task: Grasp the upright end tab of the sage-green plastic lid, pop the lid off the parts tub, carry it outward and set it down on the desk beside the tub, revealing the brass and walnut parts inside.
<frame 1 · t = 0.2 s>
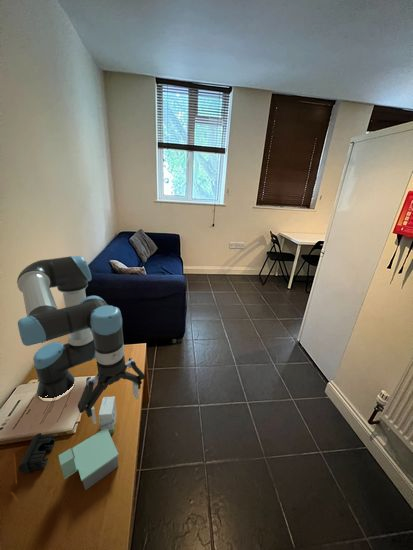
hand: (116, 407, 73), 28 cm above the table, fingers open, 13 cm apart
brass part: (89, 461, 81), point 1 cm above the table, touching tub
walnut part: (105, 465, 81), point 1 cm above the table, touching tub
tub: (97, 464, 81), on the table
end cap: (39, 458, 82), on the table
ink box: (109, 425, 95), on the table
lid: (95, 452, 79), point 7 cm above the table, touching tub
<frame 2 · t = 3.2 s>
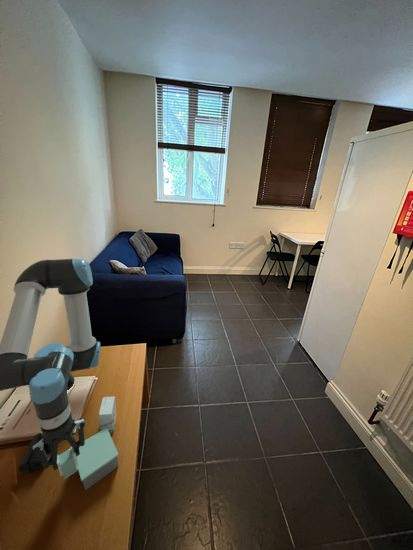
hand: (68, 466, 73), 9 cm above the table, fingers closed on lid, 3 cm apart
lid: (95, 452, 79), point 7 cm above the table, touching gripper, tub
everything else where it was.
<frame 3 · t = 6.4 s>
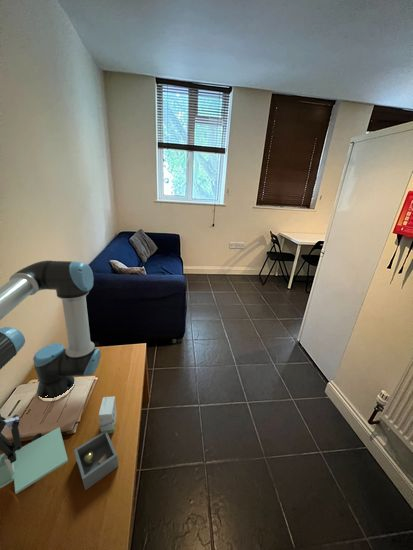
hand: (2, 475, 59), 22 cm above the table, fingers closed on lid, 3 cm apart
lid: (40, 457, 65), point 20 cm above the table, touching gripper
everything else where it was.
when the fingers open (4 cm above the table, at t = 9.9 s): lid drops 2 cm, point 1 cm above the table.
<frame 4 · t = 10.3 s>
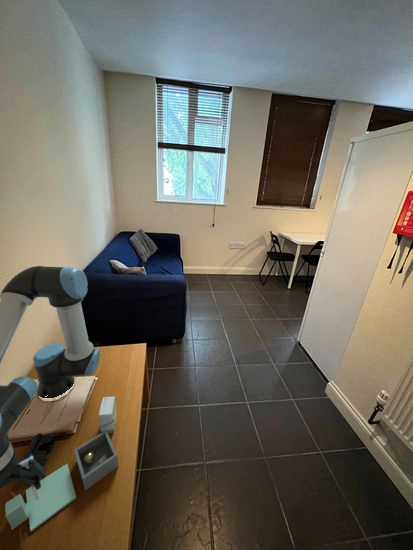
hand: (16, 508, 66), 5 cm above the table, fingers open, 9 cm apart
lid: (51, 494, 72), point 1 cm above the table
everything else where it was.
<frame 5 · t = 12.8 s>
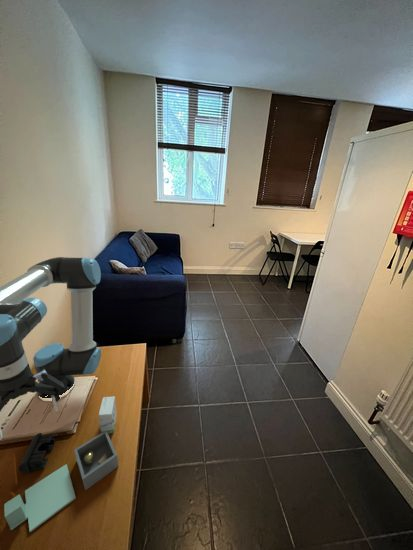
hand: (30, 421, 68), 27 cm above the table, fingers open, 13 cm apart
nothing on the table moved.
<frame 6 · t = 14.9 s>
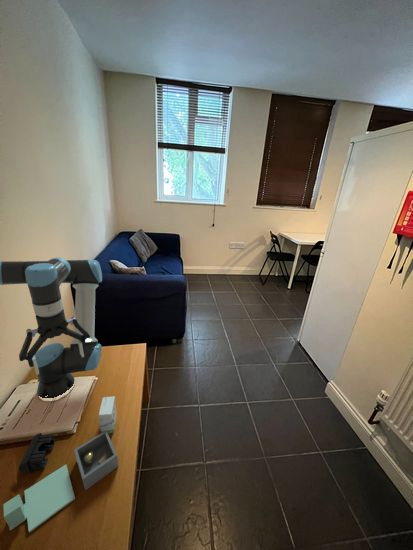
hand: (61, 363, 79), 35 cm above the table, fingers open, 13 cm apart
nothing on the table moved.
at the end: lid inside the target area (0.5 cm from its centre), point 0.7 cm above the table; lid tilted 0°; the gripper is holding nothing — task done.
